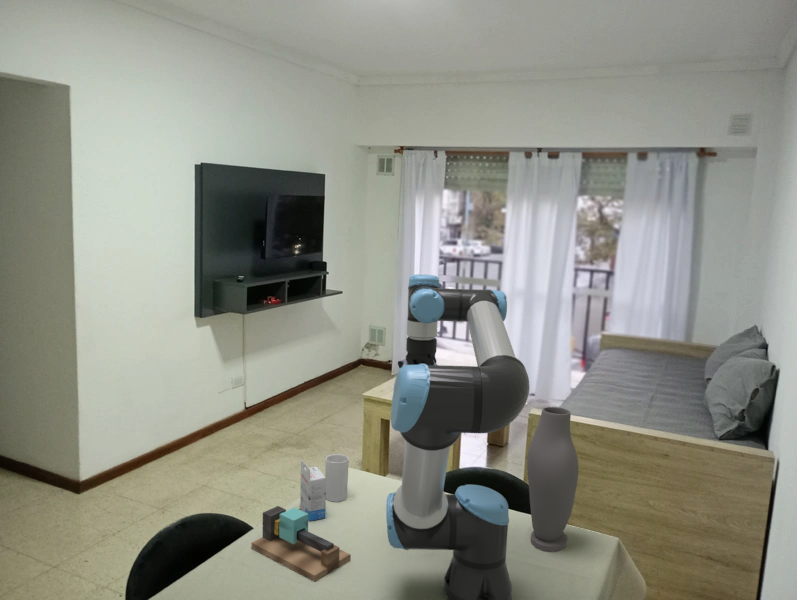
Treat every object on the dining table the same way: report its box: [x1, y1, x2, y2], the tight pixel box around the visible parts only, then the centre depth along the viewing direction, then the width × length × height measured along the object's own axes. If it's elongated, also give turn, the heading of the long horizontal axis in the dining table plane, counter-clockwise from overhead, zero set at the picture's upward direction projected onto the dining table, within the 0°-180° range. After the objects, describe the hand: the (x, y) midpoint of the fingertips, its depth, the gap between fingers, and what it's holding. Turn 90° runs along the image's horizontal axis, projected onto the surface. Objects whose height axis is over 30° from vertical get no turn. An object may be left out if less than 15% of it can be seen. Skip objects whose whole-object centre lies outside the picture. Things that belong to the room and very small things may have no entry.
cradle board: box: [251, 505, 352, 582], centre depth 156 cm, size 22×12×8 cm, turn 52°
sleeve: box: [279, 507, 309, 544], centre depth 157 cm, size 5×5×6 cm
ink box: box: [299, 458, 327, 522], centre depth 177 cm, size 9×5×15 cm, turn 25°
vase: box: [526, 406, 579, 553], centre depth 165 cm, size 13×13×35 cm
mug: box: [324, 453, 350, 503], centre depth 189 cm, size 10×7×12 cm, turn 177°
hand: (418, 428), depth 162 cm, fingers closed
